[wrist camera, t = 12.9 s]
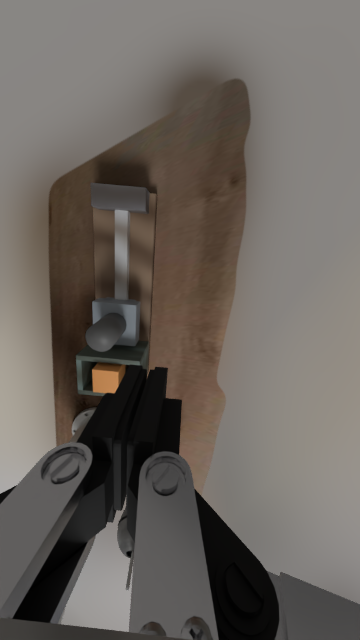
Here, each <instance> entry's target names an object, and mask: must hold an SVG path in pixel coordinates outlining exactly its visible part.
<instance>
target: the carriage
mask: <svg viewBox="0 0 360 640" xmlns="http://www.w3.org/2000/svg"><path fill="white" fill-rule="evenodd" d="M92 310H93V325H92V326H91V327H89V328H88V330H87V331H86V336H85V337H86V341H87V343H88V345H89V346H90V347H91V348H92V349H94V350H96V351H100V352H104V351H107V350H109V349H111V348H112V346H113V345H114V344H116V345H126V346H136V344H137V342H138V340H139V325H140V302H139V301H136V300H132V299H129V300H118V299H114V298H110V297H107V298H98V299H96V300H94V301H92Z"/></svg>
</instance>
